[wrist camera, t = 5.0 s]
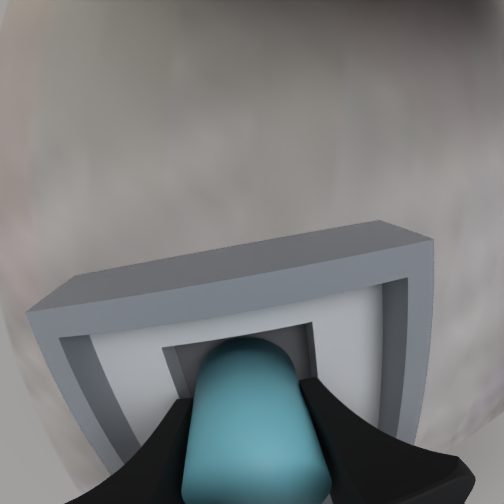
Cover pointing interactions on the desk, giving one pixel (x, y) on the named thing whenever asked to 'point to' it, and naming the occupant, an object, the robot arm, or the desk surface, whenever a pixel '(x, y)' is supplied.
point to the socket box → (245, 328)
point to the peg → (252, 431)
